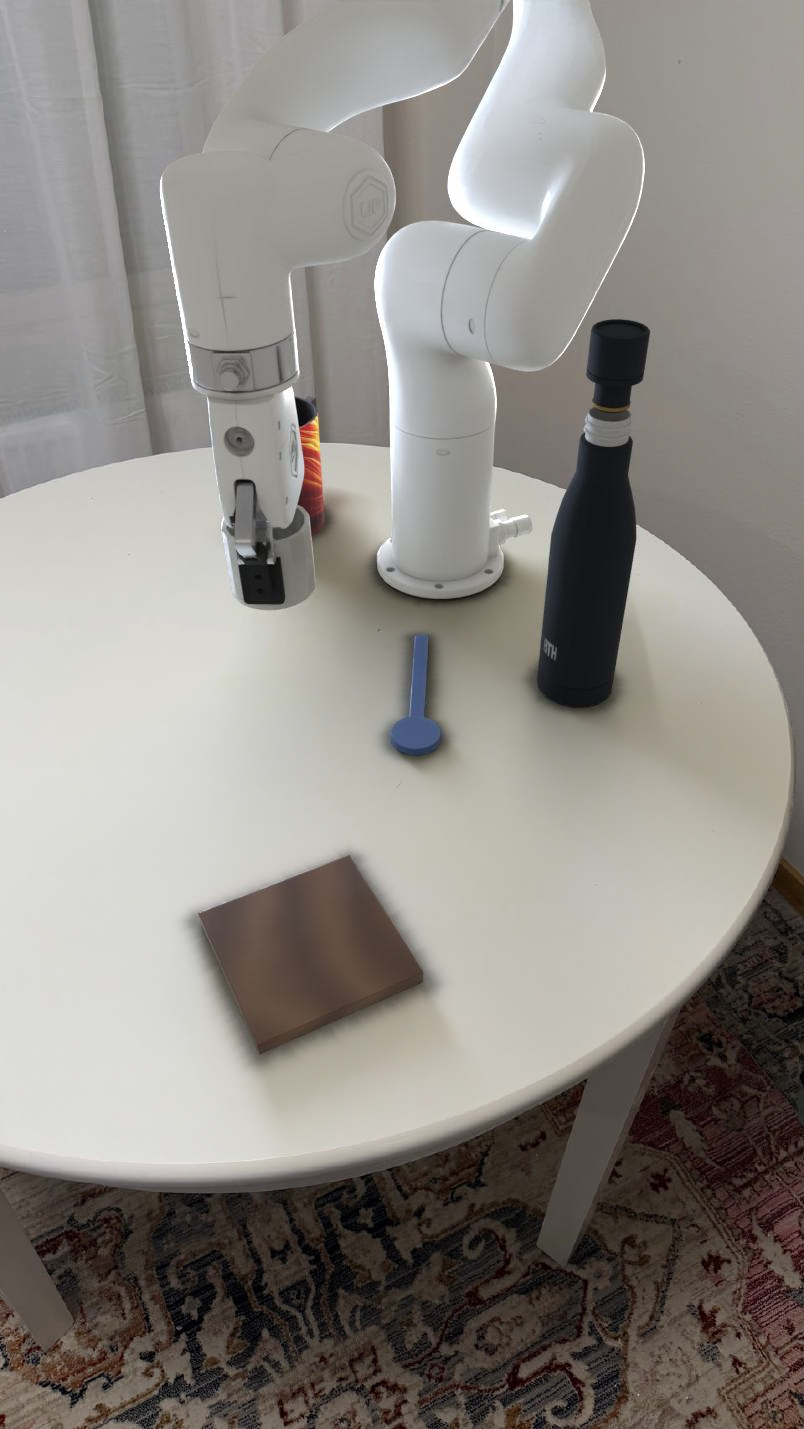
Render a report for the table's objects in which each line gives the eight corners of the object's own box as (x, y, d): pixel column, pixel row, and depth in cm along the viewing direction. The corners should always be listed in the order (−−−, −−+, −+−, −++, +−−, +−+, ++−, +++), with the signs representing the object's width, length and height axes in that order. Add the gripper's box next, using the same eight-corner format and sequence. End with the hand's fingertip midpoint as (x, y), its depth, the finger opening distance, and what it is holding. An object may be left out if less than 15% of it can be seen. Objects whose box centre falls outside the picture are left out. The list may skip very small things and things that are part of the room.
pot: (296, 555, 85) (289, 491, 81) (329, 595, 81) (323, 530, 77) (220, 577, 83) (209, 513, 79) (249, 619, 78) (239, 554, 74)
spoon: (399, 639, 91) (399, 633, 91) (443, 640, 91) (444, 634, 90) (389, 754, 79) (389, 748, 79) (440, 756, 79) (440, 749, 79)
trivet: (350, 863, 71) (349, 854, 70) (423, 981, 63) (423, 971, 62) (199, 921, 67) (197, 912, 66) (259, 1054, 59) (257, 1045, 59)
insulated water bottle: (621, 672, 87) (680, 319, 68) (600, 716, 83) (656, 352, 63) (550, 654, 89) (588, 307, 70) (526, 695, 85) (559, 337, 65)
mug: (321, 479, 115) (315, 376, 107) (326, 541, 104) (319, 432, 97) (236, 484, 114) (223, 381, 107) (233, 546, 104) (218, 437, 96)
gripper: (279, 412, 63) (305, 640, 74) (312, 311, 76) (329, 519, 87) (161, 412, 63) (205, 639, 75) (213, 312, 76) (244, 519, 88)
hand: (272, 573), depth 81 cm, fingers closed on pot, 7 cm apart
